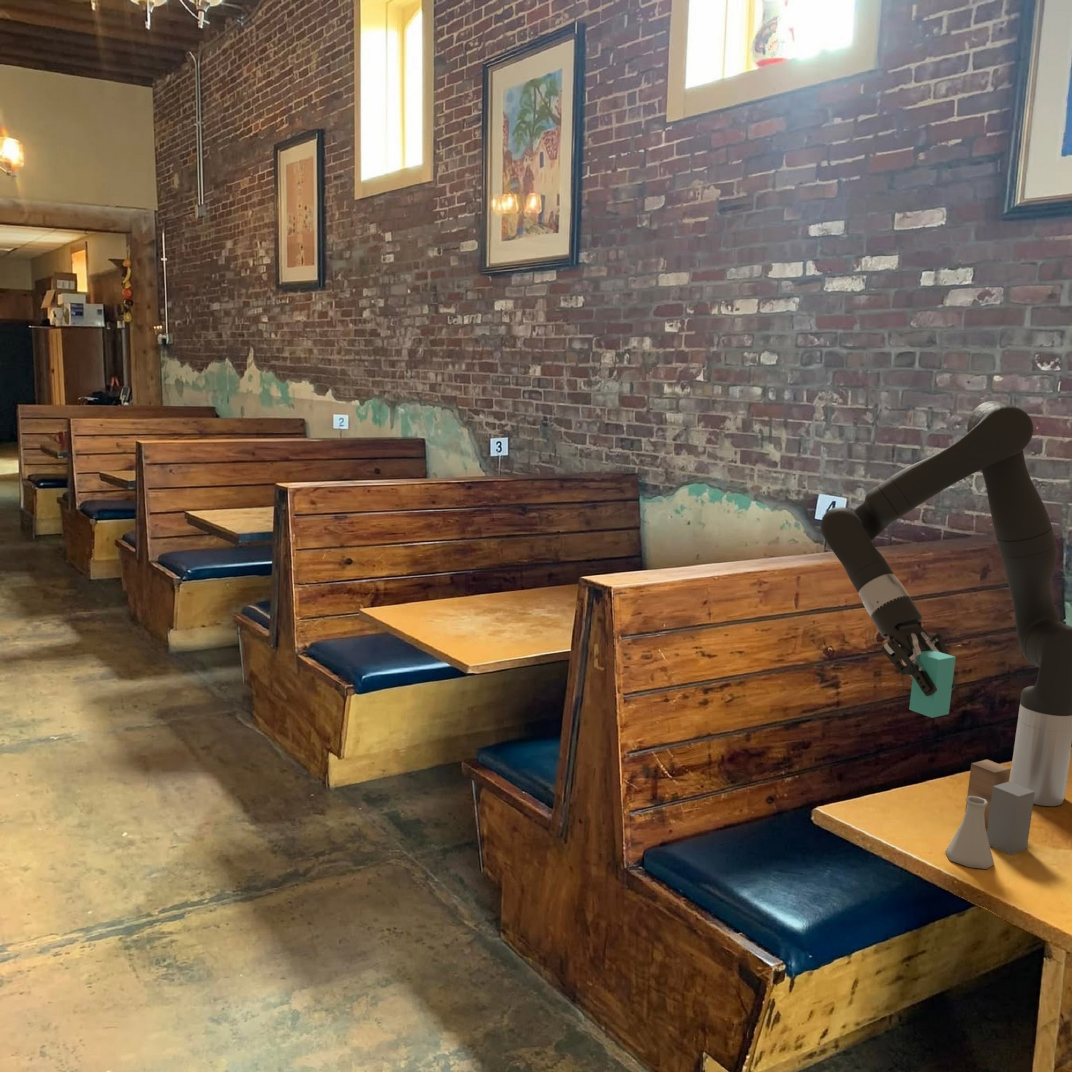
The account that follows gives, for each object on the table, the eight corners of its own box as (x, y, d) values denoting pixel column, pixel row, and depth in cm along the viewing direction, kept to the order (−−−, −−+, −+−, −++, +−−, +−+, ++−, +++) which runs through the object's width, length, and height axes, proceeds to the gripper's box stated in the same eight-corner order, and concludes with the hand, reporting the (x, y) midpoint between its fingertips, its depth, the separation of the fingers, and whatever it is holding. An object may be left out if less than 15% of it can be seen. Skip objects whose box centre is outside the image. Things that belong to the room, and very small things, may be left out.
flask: (942, 862, 157) (949, 802, 155) (947, 844, 163) (954, 787, 162) (992, 874, 153) (1000, 813, 152) (995, 856, 160) (1003, 797, 158)
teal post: (925, 706, 171) (932, 649, 170) (948, 714, 168) (955, 656, 166) (909, 709, 169) (915, 652, 167) (931, 717, 165) (938, 659, 164)
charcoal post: (1001, 838, 167) (1009, 781, 165) (1026, 849, 163) (1034, 791, 161) (985, 843, 164) (992, 786, 163) (1010, 854, 161) (1018, 796, 159)
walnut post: (980, 812, 177) (986, 759, 175) (1003, 823, 173) (1010, 768, 171) (964, 817, 174) (971, 763, 173) (987, 828, 170) (995, 772, 169)
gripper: (876, 597, 168) (930, 686, 159) (930, 591, 175) (983, 676, 167) (848, 620, 173) (899, 708, 165) (901, 614, 181) (952, 697, 172)
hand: (941, 691), depth 166 cm, fingers closed on teal post, 4 cm apart
